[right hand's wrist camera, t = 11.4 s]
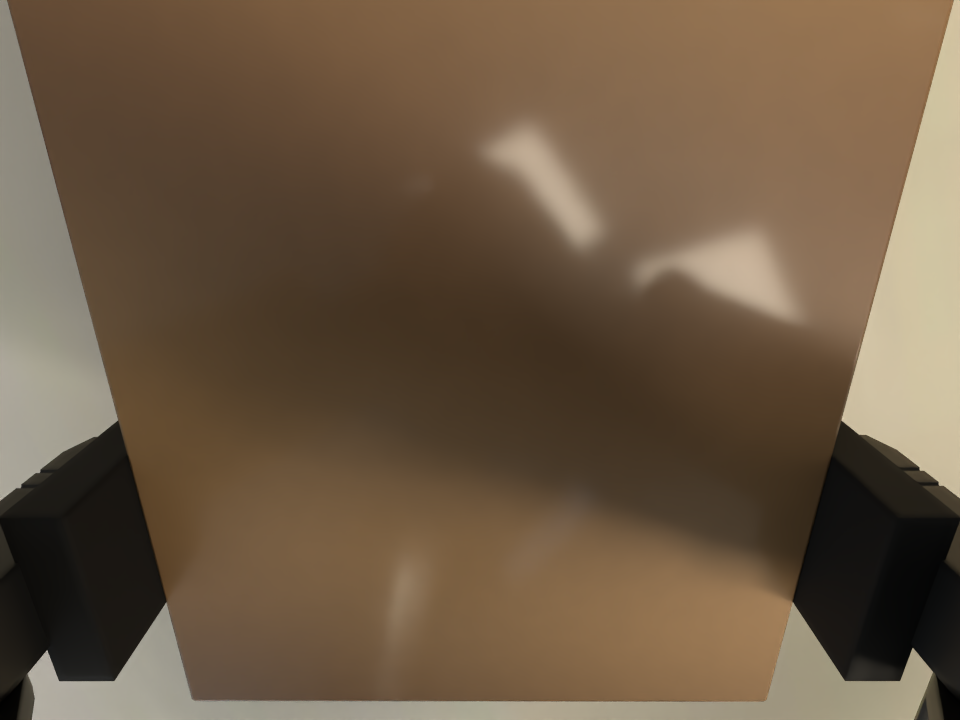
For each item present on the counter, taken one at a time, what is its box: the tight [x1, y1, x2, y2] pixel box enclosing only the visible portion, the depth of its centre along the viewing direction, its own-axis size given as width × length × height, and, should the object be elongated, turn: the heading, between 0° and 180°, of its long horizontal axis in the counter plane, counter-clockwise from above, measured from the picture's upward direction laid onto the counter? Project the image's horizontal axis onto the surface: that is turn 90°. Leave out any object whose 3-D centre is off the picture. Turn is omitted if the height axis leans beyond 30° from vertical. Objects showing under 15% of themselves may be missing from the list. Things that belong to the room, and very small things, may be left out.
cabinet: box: [7, 0, 954, 701], centre depth 10 cm, size 18×10×8 cm, turn 0°
